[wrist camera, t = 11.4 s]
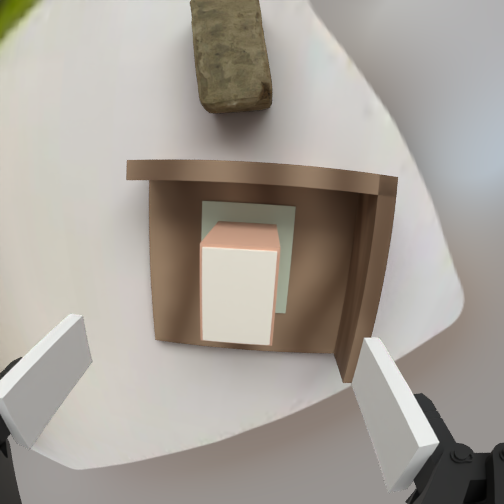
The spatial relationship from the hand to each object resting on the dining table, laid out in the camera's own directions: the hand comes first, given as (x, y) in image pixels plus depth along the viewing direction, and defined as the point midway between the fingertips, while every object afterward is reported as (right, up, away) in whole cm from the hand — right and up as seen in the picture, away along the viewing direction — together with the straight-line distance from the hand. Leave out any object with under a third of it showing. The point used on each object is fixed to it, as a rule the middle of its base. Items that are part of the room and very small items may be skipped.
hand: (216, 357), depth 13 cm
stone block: (0, +22, +11) cm, 25 cm away
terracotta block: (+1, +4, +15) cm, 15 cm away
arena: (+2, +4, +16) cm, 17 cm away
